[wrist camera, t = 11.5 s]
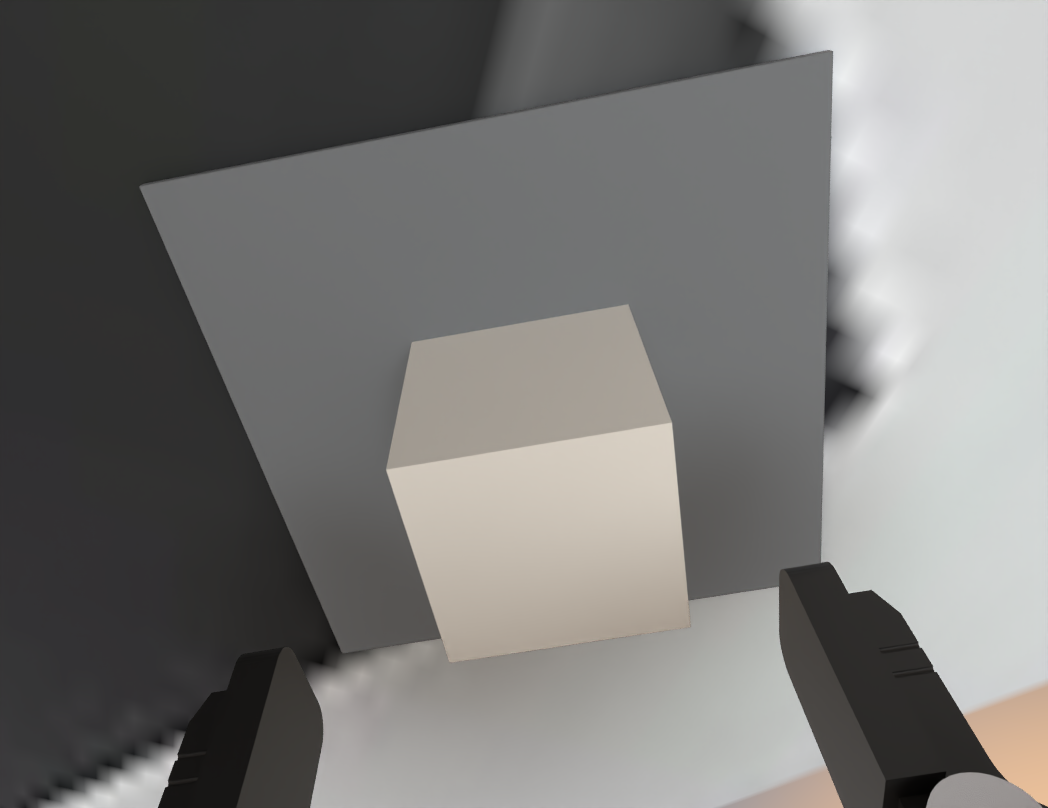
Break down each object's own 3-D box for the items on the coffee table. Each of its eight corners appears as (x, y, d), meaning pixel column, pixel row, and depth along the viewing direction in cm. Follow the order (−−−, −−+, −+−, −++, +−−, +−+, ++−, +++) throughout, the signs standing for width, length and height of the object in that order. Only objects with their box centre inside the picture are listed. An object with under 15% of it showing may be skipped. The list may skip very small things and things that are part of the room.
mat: (343, 648, 23) (342, 653, 23) (142, 183, 16) (138, 186, 16) (817, 575, 22) (820, 580, 22) (829, 49, 15) (832, 51, 15)
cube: (458, 510, 20) (449, 663, 16) (411, 342, 18) (386, 470, 14) (648, 480, 20) (690, 627, 16) (628, 304, 18) (672, 422, 13)
